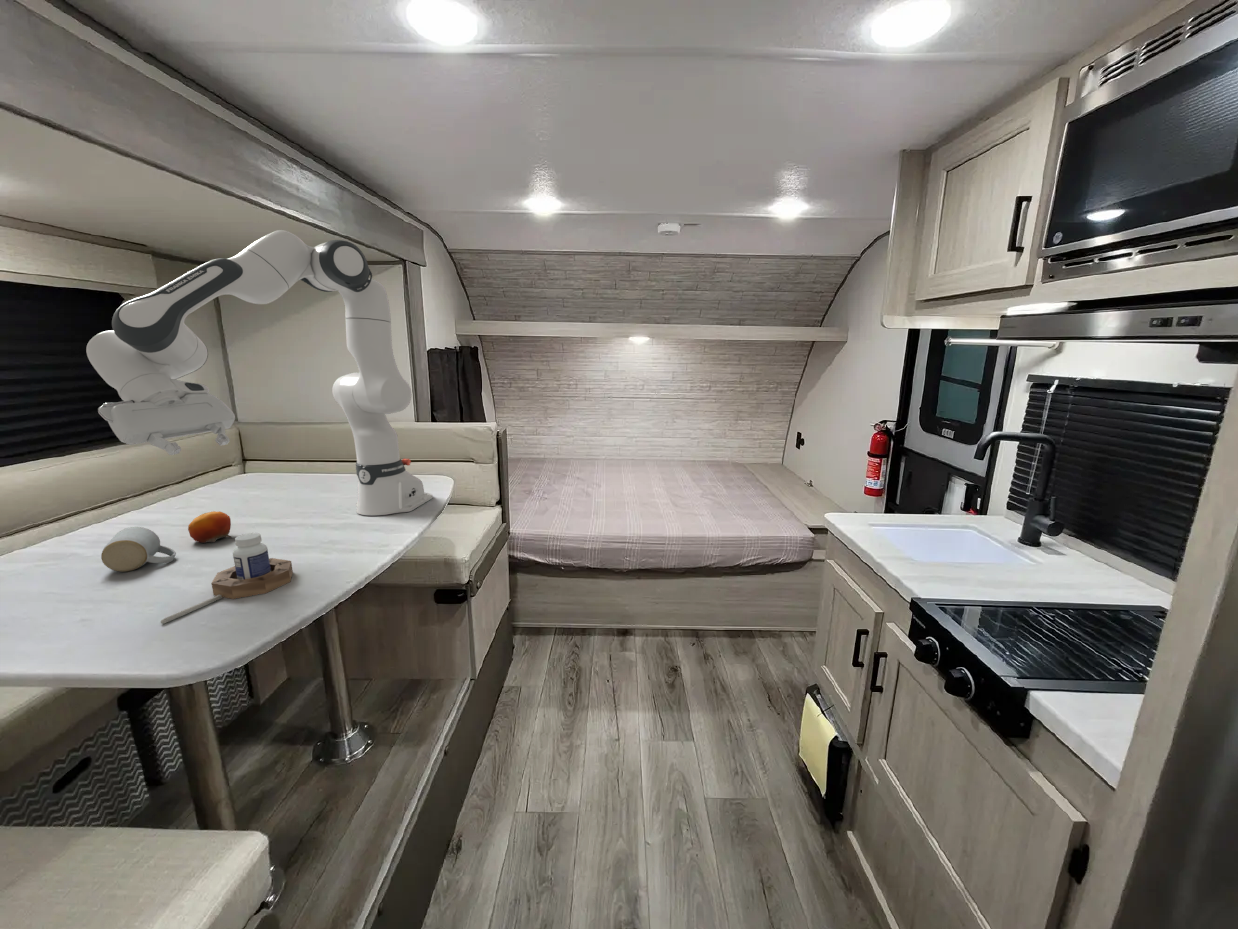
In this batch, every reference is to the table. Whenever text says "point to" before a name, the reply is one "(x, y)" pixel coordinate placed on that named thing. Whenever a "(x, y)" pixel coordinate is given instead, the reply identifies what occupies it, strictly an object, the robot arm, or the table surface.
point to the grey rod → (190, 609)
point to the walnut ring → (252, 581)
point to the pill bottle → (250, 556)
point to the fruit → (210, 527)
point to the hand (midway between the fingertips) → (201, 447)
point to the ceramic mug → (134, 550)
